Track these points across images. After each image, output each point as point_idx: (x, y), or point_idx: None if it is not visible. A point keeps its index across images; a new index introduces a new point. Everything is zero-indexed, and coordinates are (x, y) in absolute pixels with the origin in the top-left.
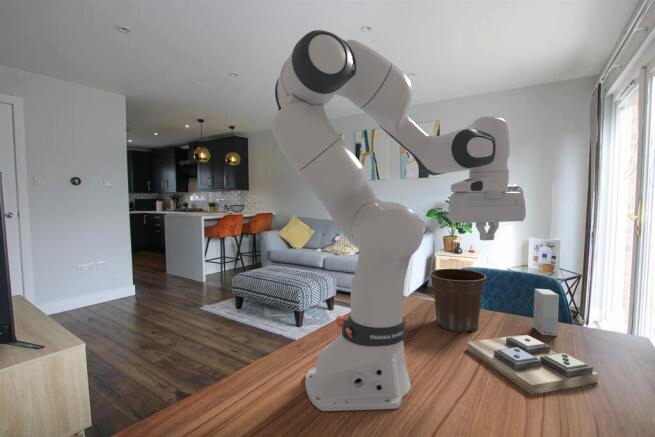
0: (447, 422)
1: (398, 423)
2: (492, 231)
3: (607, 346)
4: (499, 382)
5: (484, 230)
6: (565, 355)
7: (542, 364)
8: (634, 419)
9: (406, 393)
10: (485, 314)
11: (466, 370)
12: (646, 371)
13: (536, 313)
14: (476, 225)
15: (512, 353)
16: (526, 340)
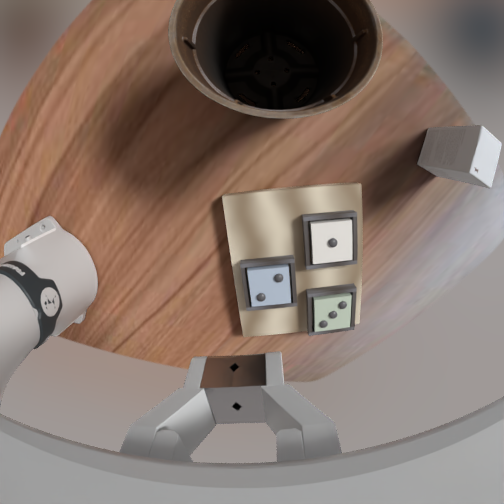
0: (125, 346)
1: (83, 336)
2: (272, 429)
3: (467, 228)
4: (218, 300)
5: (189, 443)
6: (343, 306)
7: (304, 294)
8: (320, 370)
9: (91, 303)
10: None
11: (185, 264)
12: (438, 297)
13: (443, 140)
14: (131, 437)
15: (261, 286)
16: (328, 244)
